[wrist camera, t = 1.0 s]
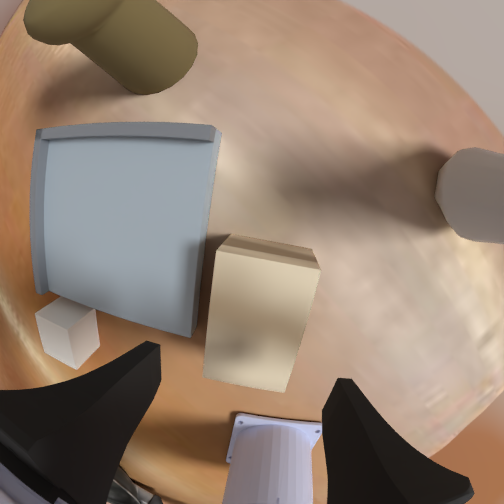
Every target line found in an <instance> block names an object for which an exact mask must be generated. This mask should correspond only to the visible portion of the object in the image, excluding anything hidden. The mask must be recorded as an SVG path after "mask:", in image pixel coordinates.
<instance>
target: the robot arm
mask: <svg viewBox="0 0 504 504" xmlns="http://www.w3.org/2000/svg"><path fill="white" fill-rule="evenodd" d="M160 382H161V357H160V345H159V344H156V343H153V342H149V341H145V342H144V343H142V344H140V345H138V346H137V347H135V348H133V349H132V350H130V351H128V352H127V353H125V354H123V355H122V356H120V357H118V358H116V359H115V360H113V361H111V362H109V363H107V364H105V365H103V366H101V367H99V368H97V369H95V370H93V371H91V372H89V373H87V374H84V375H82V376H79V377H77V378H74V379H71V380H68V381H65V382H61V383H57V384H53V385H49V386H45V387H39V388H33V389H24V390H0V504H106V502H107V499H108V495H109V492H110V488H111V485H112V482H113V479H114V476H115V474H116V471H117V468H118V466H119V463H120V461H121V458H122V456H123V453H124V451H125V449H126V446H127V444H128V442H129V440H130V438H131V436H132V435H133V433H134V431H135V430H136V428H137V426H138V424H139V423H140V421H141V419H142V418H143V416H144V414H145V413H146V411H147V409H148V408H149V406H150V404H151V403H152V401H153V399H154V397H155V394H156V392H157V390H158V387H159V385H160ZM321 434H322V435H323V442H324V450H325V458H326V465H327V474H328V498H327V504H465V503H466V502H467V501H469V500H470V499H471V498H472V497H473V495H474V491H473V488H472V486H471V483H470V480H469V478H468V477H465V476H463V475H461V474H458V473H456V472H453V471H451V470H449V469H447V468H445V467H443V466H441V465H439V464H437V463H435V462H433V461H432V460H431V459H429V458H427V457H426V456H425V455H423V454H422V453H420V452H419V451H417V450H416V449H415V448H414V447H412V446H411V445H410V444H409V443H408V442H406V441H405V440H404V439H403V438H402V437H401V436H400V435H399V434H398V433H397V432H395V431H394V429H393V428H392V427H391V426H390V425H389V424H388V423H387V422H386V421H385V420H384V419H383V418H382V416H381V415H380V414H379V413H378V412H377V410H376V409H375V408H374V407H373V406H372V404H371V403H370V402H369V400H368V399H367V398H366V397H365V395H364V394H363V393H362V391H361V390H360V389H359V388H358V386H357V385H356V384H355V382H354V381H353V380H352V379H346V378H338V379H337V381H336V383H335V385H334V387H333V389H332V391H331V393H330V395H329V398H328V400H327V402H326V404H325V406H324V408H323V409H322V423H318V422H304V421H294V420H284V419H276V418H269V417H262V416H256V415H250V414H244V413H238V414H237V415H236V418H235V422H234V427H233V431H232V436H231V440H230V445H229V449H228V453H227V458H226V462H228V463H230V468H229V473H228V478H227V482H226V487H225V492H224V497H223V502H222V504H313V486H312V463H311V450H312V448H313V447H314V445H315V443H316V442H317V440H318V439H319V437H320V435H321Z"/></svg>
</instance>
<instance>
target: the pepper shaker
mask: <svg viewBox="0 0 504 504" xmlns="http://www.w3.org/2000/svg"><path fill="white" fill-rule="evenodd" d="M23 21H24V24H25V27H26V30H27V33H28V34H29V35H30V36H31V37H32V38H33V39H35V40H38V41H40V42H43V43H46V44H48V45H62V44H68V43H71V44H72V45H73V46H75V47H76V48H77V49H78V50H80V51H81V52H82V53H83V54H85V55H86V56H87V57H88V58H90V59H91V60H92V61H93V62H95V63H96V64H97V65H98V66H100V67H101V68H102V69H103V70H105V71H106V72H107V73H108V74H109V75H111V76H112V77H113V78H114V79H115V80H117V81H118V82H119V83H120V84H121V85H123V86H124V87H125V88H126V89H128V90H130V91H131V92H133V93H135V94H143V95H148V94H153V93H159V92H161V91H163V90H165V89H167V88H169V87H171V86H173V85H174V84H175V83H177V82H178V81H179V80H180V79H182V78H183V77H184V76H185V74H186V73H187V72H188V71H189V69H190V68H191V67H192V65H193V63H194V60H195V58H196V56H197V49H198V42H197V39H196V37H195V34H194V33H193V32H192V31H191V30H190V29H189V28H188V27H187V26H185V25H184V24H183V23H182V22H181V21H180V20H179V19H177V18H176V17H175V16H174V15H173V14H172V13H170V12H169V11H168V10H167V9H166V8H164V7H163V6H162V5H161V4H160V3H158V2H157V1H156V0H30V1H29V3H28V5H27V7H26V10H25V14H24V19H23Z"/></svg>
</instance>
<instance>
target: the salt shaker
mask: <svg viewBox="0 0 504 504" xmlns="http://www.w3.org/2000/svg"><path fill="white" fill-rule="evenodd" d="M434 198H435V199H436V201H437V203H438V205H439V206H440V208H441V210H442V212H443V215H444V217H445V219H446V221H447V222H448V224H449V225H450V226H451V227H452V229H453V230H454V231H455V232H456V234H457V235H459V236H460V237H462V238H465V239H469V240H472V241H476V242H487V243H498V244H504V154H500V153H497V152H493V151H489V150H485V149H480V148H476V147H474V148H468V149H462V150H460V151H457V152H456V153H455V154H454V155H453V156H452V157H451V158H450V159H449V160H448V161H447V162H446V163H445V164H444V166H443V167H442V168H441V169H440V170H439V171H438V178H437V185H436V191H435V197H434Z"/></svg>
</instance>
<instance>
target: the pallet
mask: <svg viewBox="0 0 504 504" xmlns="http://www.w3.org/2000/svg"><path fill="white" fill-rule="evenodd" d="M320 273H321V269H320V266H319V264H318V262H317V260H316V257H315V255H314V253H313V251H312V249H309V248H304V247H298V246H293V245H288V244H282V243H277V242H272V241H266V240H261V239H256V238H250V237H245V236H239V235H234V234H230V236H229V237H228V238H227V239H226V240H225V241H224V242H223V243H222V245H221V246H220V247H219V248H218V249H217V250H216V257H215V265H214V272H213V281H212V289H211V297H210V306H209V315H208V325H207V334H206V344H205V355H204V366H203V377H204V378H208V379H212V380H217V381H221V382H226V383H231V384H235V385H241V386H246V387H251V388H257V389H263V390H270V391H276V392H283V393H284V392H285V389H286V386H287V383H288V380H289V378H290V375H291V372H292V369H293V366H294V363H295V359H296V356H297V353H298V350H299V347H300V344H301V340H302V337H303V334H304V331H305V327H306V324H307V320H308V317H309V313H310V310H311V306H312V303H313V299H314V295H315V292H316V288H317V284H318V280H319V276H320Z"/></svg>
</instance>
